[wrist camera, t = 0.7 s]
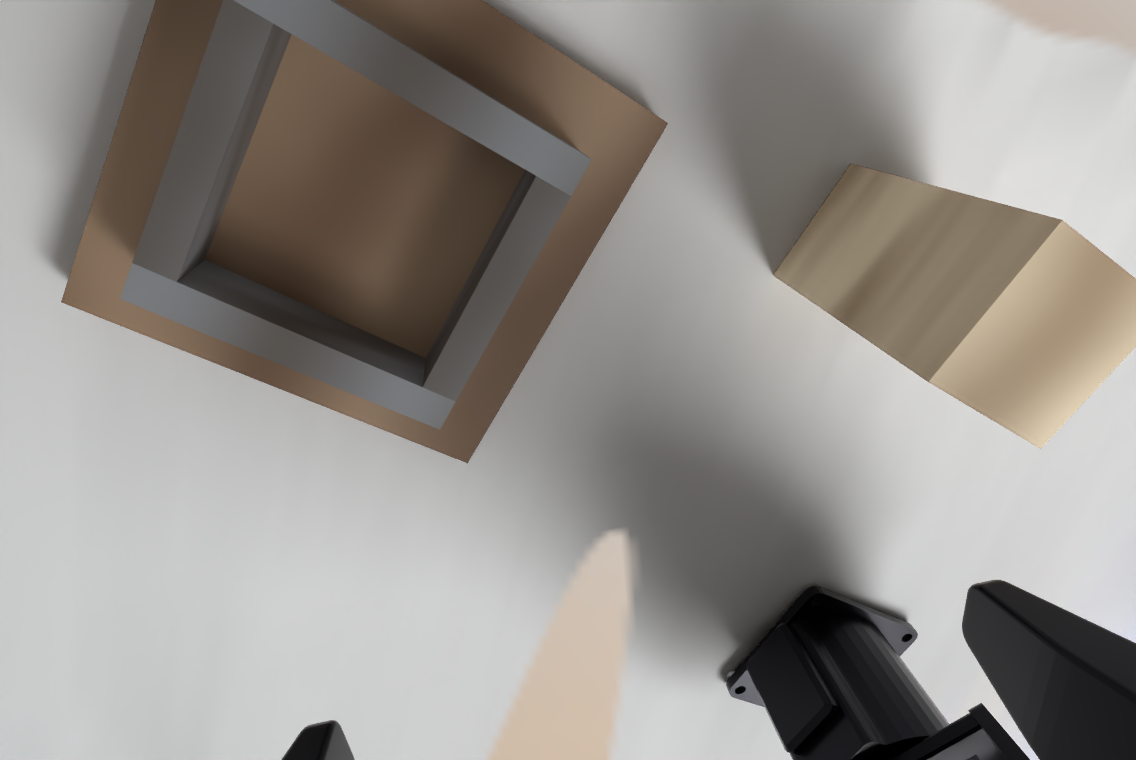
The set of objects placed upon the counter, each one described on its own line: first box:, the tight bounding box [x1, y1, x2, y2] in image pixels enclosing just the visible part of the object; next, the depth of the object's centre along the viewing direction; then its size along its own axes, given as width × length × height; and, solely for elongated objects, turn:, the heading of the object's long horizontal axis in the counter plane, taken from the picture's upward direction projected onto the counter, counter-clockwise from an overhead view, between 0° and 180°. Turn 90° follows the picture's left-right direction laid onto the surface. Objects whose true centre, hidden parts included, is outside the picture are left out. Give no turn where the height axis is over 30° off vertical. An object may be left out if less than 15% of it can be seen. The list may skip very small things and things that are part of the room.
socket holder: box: [61, 0, 668, 463], centre depth 17 cm, size 12×12×3 cm
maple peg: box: [773, 164, 1136, 449], centre depth 18 cm, size 4×4×8 cm
